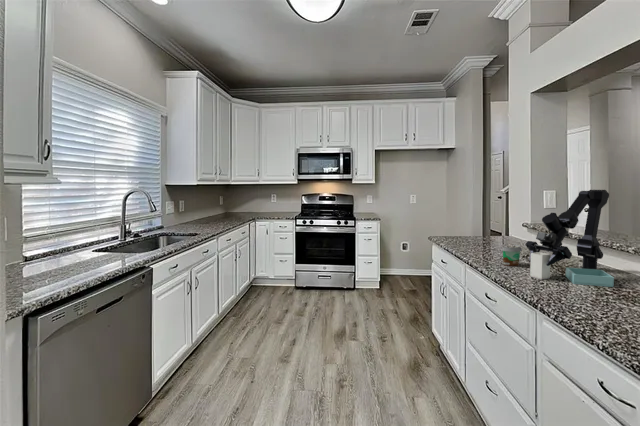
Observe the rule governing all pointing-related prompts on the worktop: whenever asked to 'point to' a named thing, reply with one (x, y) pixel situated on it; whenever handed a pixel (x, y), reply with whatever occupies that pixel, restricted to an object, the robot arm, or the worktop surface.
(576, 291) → the worktop surface
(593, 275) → the crate
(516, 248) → the food container
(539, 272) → the white hollow square box
